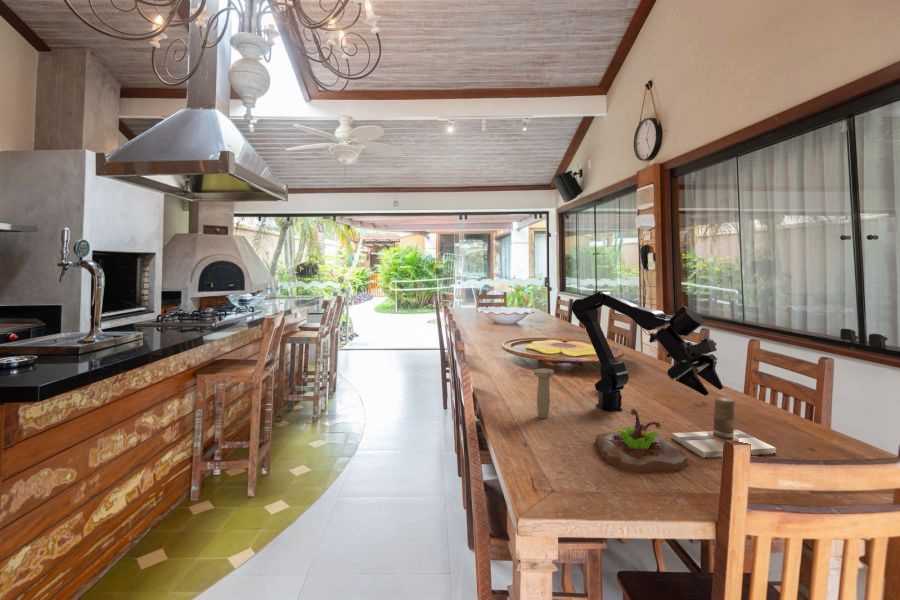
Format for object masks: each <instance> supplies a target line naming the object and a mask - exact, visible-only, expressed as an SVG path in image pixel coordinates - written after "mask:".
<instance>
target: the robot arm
mask: <svg viewBox="0 0 900 600" xmlns="http://www.w3.org/2000/svg"><path fill="white" fill-rule="evenodd" d="M603 306H605V307H607V308H609V309H612V310H614V311H616V312H618V313H620V314H622V315H625V316H627V317H628V318H630V319H632V321H634V323H635V324H637V325H638V326H639V327H641V329H643V330H645V331H655V330H658V331H656V332H652V333H650V334H649V340H648V341H649V343H650V344H653V343H656V342H658V344H659V345H661V347H662V348H663V349H664V350H665V352H667V354H665V355H666V357H667V359H670V358H671V359H672V360H673V361H674V363H675V364H674V365H673V366H671V367H670V368H669V369H667V372H666V373H667V376H668V377H669V379H670V380H671V381H673V380H675V382H678V383H680V384H682V385H684V386H686V387H687V388H690V389H692V390H693V391H696V392H697V393H700V394H701V395H703V396H704V397H705V396H708V395H709V391H708V390H707V387H706V386H705V385H704V384H703V382H702V381H701V379H700V378H702V379H703V380H704V381H706V382H707V383H709V384H710V385H712V386H713V387H715V388H716V389H718V390H720V391H721V390H723V388H724V386H723V384H722V382H721V379H720V377H719V375H718V374H717V371H716V368H717V367H716V366H717V363H718V362H717V361H718V358H717V357H716V356H715V354H713V353H714V352H717V351H718V350H717V347H716V346H717V342H715V341H714V339H712V338H710V337H706V338H703V339H701V340H700V342H699V343H696V344H693V343H692V342H690V341H686V340H684V338H682V336H684V337H688V336H689V335H691V334H693V333H694V332H695V331H696V330H697V329H699V328H700V327H701V326H702V325H704V323H705V321H704V319H703V318H702V316H701V315H700V314H699V313H697V312H695V311H694V310H693V309H690V308H689V307H688V306H682V307H681V308H680V309H679V310H678V311H677V312H675V314H674V315H672V316H671V315H667V314H666V313H665V312H664V311H662V310H660V309H655V308H649V307H644V306H639V305H637V304H635V303H632V302H631V301H628V300H626V299H624V298H621V297H619V296H617V295H614V294H612V293H611V292H609V291H598V292H596V293H593V294H592V295H588V296H586V297H584V298H577V299H575V300H573V301H572V304H571V306H570V307H571V312H572V314H573V315H574V316H575V318H576V319H577V321H579V322H580V323H581V324H582V325H583V327H584V328H585V331H586V333H587V335H588V338H589V340H590V342H591V344H592V348H593V350H594V352H595V354H596V356H597V358H598V361H599V364H600V366H599V375H600V379H599V380H598V381H597V382H596V383H594V387H595V391H597V392H598V395H597V396H598V397H597V398H598V400H597V402H598V403H595V405H596V407H597V408H599V409H600V410H602V411H604V412H615V411H617V412H618V411H621V412H623V408H622V400H623V399H622V395H623V394H622V393H621V392H622V390H624V388H625V385H627V384H628V382H629V379H630V377H629V374H630V372H629V371H628V370H627V367H626V364H625V363H624V361H620V362H619V361H618V360H617V359H616V358H615V357H614V354H613V351H612V350H611V347H610V345H609V343H608V340H607V338H606V336H605V334H604V331H603V329H602V327H601V324H600V323H599V319H598V318H599V308H601V307H603ZM665 326H667V327H665ZM620 390H621V391H620Z"/></svg>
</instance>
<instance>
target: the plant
mask: <svg viewBox="0 0 900 600" xmlns="http://www.w3.org/2000/svg"><path fill="white" fill-rule="evenodd" d="M629 414H630V415H631V416H635V424H634V425H633V424H632V426H631V428H629V427H627V426H625V427H624V429H625V430H623V429H621V428H616V430H617V431H612V432H603V433H597V434H596V436H595V444H596V446H597V447H598V451H599V452H600V453H601V455H600V458H602V459H604V460H605V461H606V462H607V463H608V464H610V465H614V466H618V467H619V469H620V470H622V471H626V472H629V471H630V473H636V474H643V473H645V474H646V473H652V472H670V471H671V473H672V472H673V473H676V472H678V471H681V469H682V470H683V469H684V468H685V467H687V466H688V457H687V456H685V455H683V454H682V451H681V449H680V448H678V447H676V446H675V445H673V444H671V443H670V442H668V441H667V440H666V439H664V438H663V437H660V436H658V435H659V432H658V431H653V432H652V431H651V432H649V433H648V430H647V429H648V428H649V427H650V426H652V425H655V427H656V429H657V430H662V428H663V425H662V424H661V423H660V422H657V421H650V422H648V423H646V424H643V423H642V424H641V421H640V417H639V413H638V411H637V410H636V409H633V408H632V409H631V410H630V411H629ZM677 470H678V471H677Z"/></svg>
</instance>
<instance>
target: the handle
mask: <svg viewBox="0 0 900 600" xmlns="http://www.w3.org/2000/svg"><path fill="white" fill-rule="evenodd" d="M533 375H534V376H536V377H537V378H538V381H537V383H538V384H537V394H536V395H537V397H536V407H537V409H536V410H537V417H538V418H539V419H545V420H546V419H547V418H549V414H550V413H549V412H550V406H551V405H550V404H551V397H550V395H551V393H550V392H551V391H550V378H551V377H553V376H554V375H555V370H554V369H551V368H537V369H534V370H533Z"/></svg>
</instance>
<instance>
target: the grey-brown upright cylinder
mask: <svg viewBox="0 0 900 600" xmlns="http://www.w3.org/2000/svg"><path fill="white" fill-rule="evenodd" d="M735 407H736V401H735V400H734V399H731V398H728V397H715V398H714V412H713V415H714V416H713V427H712V431H713V435H714V436H715V437H717V438H720V439H726V440H731V439H733V437H734V431H733V430H735V429H734V427H735V426H734V425H735V412H736V411H735Z"/></svg>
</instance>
